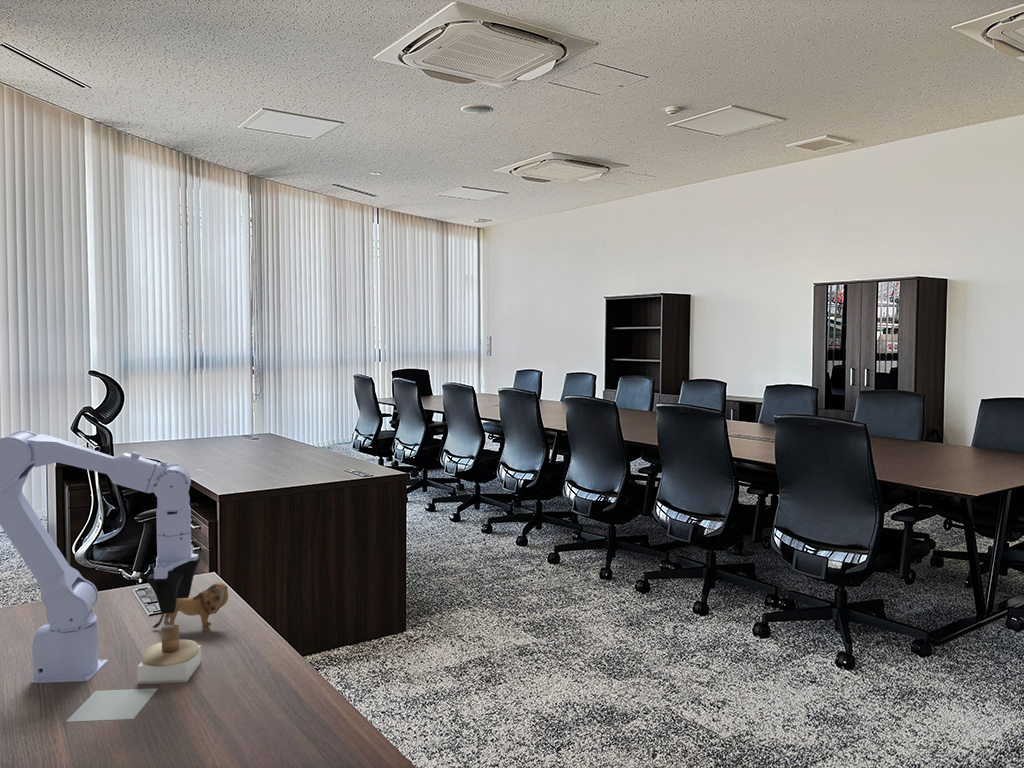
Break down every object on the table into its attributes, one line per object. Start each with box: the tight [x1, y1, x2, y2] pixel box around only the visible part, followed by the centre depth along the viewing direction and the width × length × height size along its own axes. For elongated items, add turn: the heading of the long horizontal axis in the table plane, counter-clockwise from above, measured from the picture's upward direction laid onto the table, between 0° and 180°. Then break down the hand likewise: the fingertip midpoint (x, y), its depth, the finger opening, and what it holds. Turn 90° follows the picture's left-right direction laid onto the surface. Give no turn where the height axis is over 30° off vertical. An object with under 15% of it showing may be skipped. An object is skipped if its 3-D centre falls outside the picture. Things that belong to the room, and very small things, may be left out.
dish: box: [137, 644, 202, 685], centre depth 130 cm, size 8×8×4 cm
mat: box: [65, 688, 159, 723], centre depth 119 cm, size 10×10×1 cm
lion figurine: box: [152, 582, 230, 632], centre depth 151 cm, size 15×5×9 cm, turn 103°
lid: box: [141, 624, 199, 667], centre depth 130 cm, size 9×9×5 cm
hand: (175, 605), depth 135 cm, fingers open, 7 cm apart
